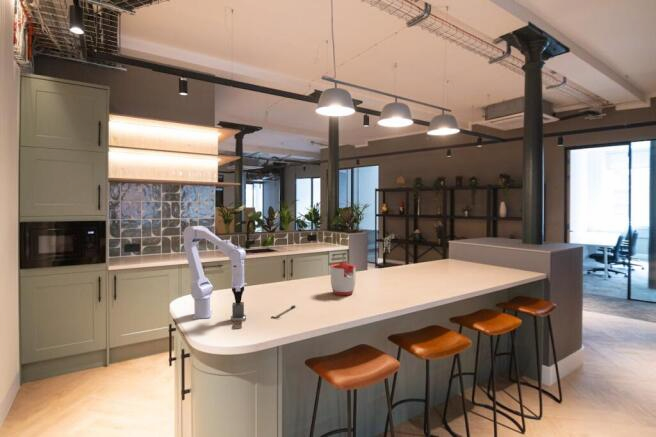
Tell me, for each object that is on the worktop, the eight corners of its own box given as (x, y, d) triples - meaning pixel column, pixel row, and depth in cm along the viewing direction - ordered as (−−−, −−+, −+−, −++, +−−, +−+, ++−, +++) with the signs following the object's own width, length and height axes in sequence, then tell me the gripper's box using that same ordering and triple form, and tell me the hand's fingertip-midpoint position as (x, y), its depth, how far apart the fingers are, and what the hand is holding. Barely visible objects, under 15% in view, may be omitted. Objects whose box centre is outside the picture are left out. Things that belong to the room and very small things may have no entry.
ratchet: (230, 318, 173) (230, 308, 172) (245, 317, 174) (245, 307, 174) (230, 329, 158) (229, 318, 157) (246, 328, 159) (246, 317, 159)
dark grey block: (232, 315, 172) (232, 302, 172) (243, 314, 173) (243, 301, 173) (232, 318, 167) (232, 305, 167) (243, 317, 168) (243, 304, 168)
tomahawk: (282, 322, 170) (282, 319, 170) (270, 319, 173) (270, 316, 173) (303, 309, 189) (303, 307, 189) (292, 306, 192) (292, 304, 192)
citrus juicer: (338, 298, 209) (338, 264, 208) (326, 291, 224) (326, 259, 224) (362, 295, 215) (362, 262, 214) (348, 289, 231) (348, 258, 230)
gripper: (247, 277, 163) (247, 306, 164) (246, 271, 177) (246, 298, 178) (230, 277, 161) (231, 307, 162) (231, 271, 175) (231, 299, 176)
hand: (238, 303), depth 170 cm, fingers closed
